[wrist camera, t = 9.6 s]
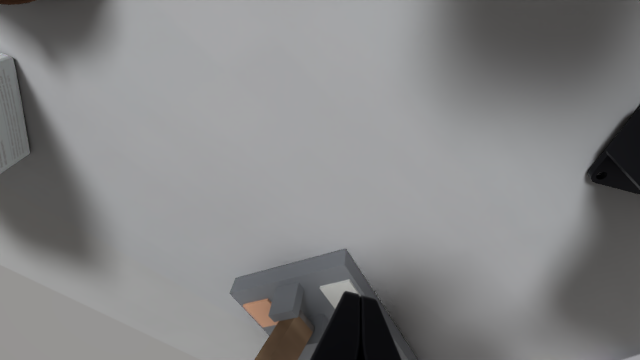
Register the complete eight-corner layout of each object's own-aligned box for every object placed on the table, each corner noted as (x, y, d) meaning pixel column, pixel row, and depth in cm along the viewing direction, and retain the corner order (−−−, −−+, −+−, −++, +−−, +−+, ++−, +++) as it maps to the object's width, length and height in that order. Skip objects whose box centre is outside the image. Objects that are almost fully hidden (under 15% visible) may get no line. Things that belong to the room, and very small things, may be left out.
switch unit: (345, 248, 27) (341, 293, 24) (431, 380, 36) (436, 426, 33) (235, 278, 30) (218, 320, 27) (337, 391, 39) (334, 433, 36)
